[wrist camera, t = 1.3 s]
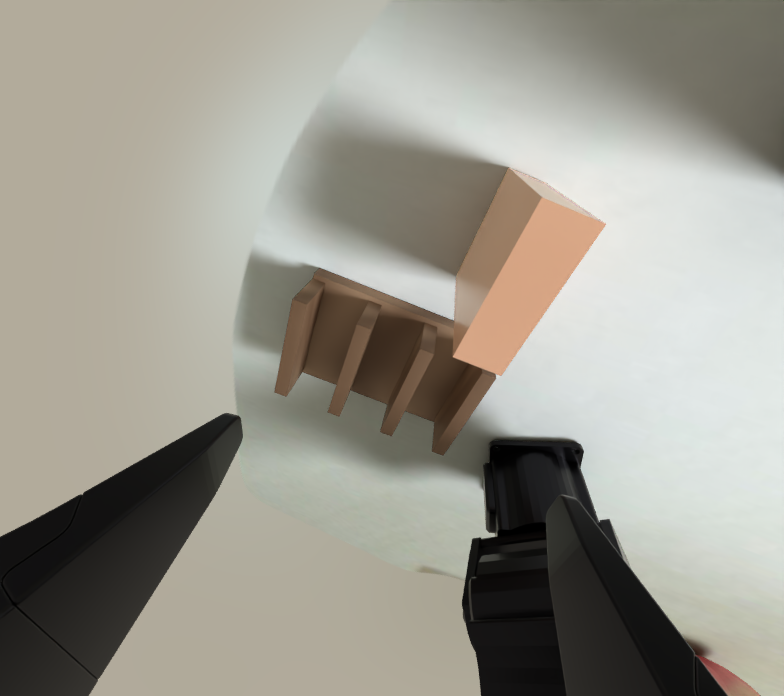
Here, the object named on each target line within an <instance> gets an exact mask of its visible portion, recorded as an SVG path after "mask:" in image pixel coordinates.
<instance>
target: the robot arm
mask: <svg viewBox="0 0 784 696" xmlns="http://www.w3.org/2000/svg"><path fill="white" fill-rule="evenodd" d="M242 438H243V432H242V424H241V418H240V417H239V416H238V415H233V414H229V413H225V414H222V415H220V416H218V417H217V418H215V419H213V420H211V421H210V422H208V423H206V424H204V425H202V426H201V427H199V428H197V429H195V430H194V431H192V432H190V433H188V434H187V435H185V436H183V437H182V438H180V439H178V440H176V441H174V442H172V443H171V444H169V445H167V446H165V447H164V448H162V449H160V450H158V451H156V452H155V453H153V454H151V455H149V456H148V457H146V458H144V459H142V460H140V461H139V462H137V463H135V464H133V465H131V466H130V467H128V468H126V469H124V470H123V471H121V472H119V473H117V474H115V475H114V476H112V477H110V478H108V479H107V480H105V481H103V482H101V483H100V484H98V485H96V486H94V487H92V488H91V489H89V490H87V491H85V492H84V493H83V495H78V496H76V497H75V498H73V499H71V500H69V501H67V502H66V503H64V504H62V505H60V506H58V507H57V508H55V509H53V510H51V511H49V512H47V513H46V514H44V515H42V516H40V517H39V518H36V519H34V520H33V521H31V522H29V523H27V524H25V525H23V526H21V527H19V528H17V529H15V530H13V531H11V532H9V533H7V534H5V535H3V536H1V537H0V696H89V694H90V693H91V691H92V690H93V688H94V686H95V685H96V683H97V681H98V679H99V678H100V676H101V675H102V673H103V672H104V670H105V668H106V667H107V665H108V664H109V662H110V660H111V659H112V657H113V656H114V654H115V653H116V651H117V649H118V648H119V646H120V645H121V643H122V642H123V640H124V639H125V637H126V635H127V634H128V632H129V630H130V629H131V627H132V626H133V624H134V622H135V621H136V620H137V618H138V616H139V615H140V613H141V612H142V610H143V608H144V607H145V605H146V604H147V602H148V600H149V599H150V597H151V596H152V594H153V593H154V591H155V589H156V588H157V586H158V585H159V583H160V582H161V580H162V578H163V577H164V575H165V573H166V572H167V570H168V569H169V567H170V565H171V564H172V563H173V561H174V559H175V558H176V556H177V555H178V553H179V551H180V550H181V548H182V547H183V545H184V543H185V542H186V540H187V539H188V537H189V535H190V534H191V533H192V531H193V529H194V528H195V526H196V525H197V523H198V521H199V520H200V518H201V517H202V515H203V513H204V512H205V510H206V509H207V507H208V506H209V504H210V502H211V501H212V499H213V498H214V496H215V494H216V492H217V491H218V488H219V487H220V485H221V483H222V481H223V479H224V477H225V475H226V473H227V471H228V469H229V467H230V464H231V462H232V460H233V458H234V457H235V454H236V452H237V450H238V448H239V446H240V444H241V442H242ZM496 447H497V448H496ZM583 453H584V450H583V448H582V446H581V444H579V443H561V442H527V441H492V442H491V443H490V445H489V463H485V464H484V465H483V487H484V504H485V520H486V530H487V531H488V532H489V533H495V537H491V538H483V539H481V538H473V539H472V544H471V550H470V554H469V561H468V567H467V573H466V580H465V586H464V593H463V599H462V607H463V619H464V621H465V623H466V627H467V631H468V635H469V638H470V641H471V644H472V646H473V648H474V650H475V652H476V657H477V662H478V669H479V678H480V688H481V696H728V695H727V693H726V692H725V691H724V690H723V688H722V687H721V686H720V684H719V683H718V682H717V681H716V679H715V678H714V677H713V675H712V674H711V673H710V672H709V670H708V669H707V668H706V666H705V665H704V664H703V662H702V661H701V660H700V658H699V657H697V656H695V652H694V651H693V649H692V648H691V647H690V646H689V644H688V643H687V642H686V640H685V639H684V638H683V636H682V635H681V634H680V632H679V631H678V630H677V629H676V627H675V626H674V625H673V623H672V622H671V621H670V619H669V618H668V617H667V615H666V614H665V613H664V612H663V610H662V609H661V608H660V606H659V605H658V604H657V602H656V601H655V600H654V599H653V597H652V596H651V595H650V593H649V592H648V591H647V589H646V588H645V587H644V585H643V584H642V583H641V582H640V580H639V579H638V578H637V576H636V575H635V574H634V572H633V571H632V570H631V567H630V565H629V562H628V560H627V557H626V555H625V553H624V551H623V549H622V546H621V544H620V542H619V540H618V537H617V535H616V533H615V531H614V528H613V526H612V524H611V522H610V519H606V520H600V522H599V521H598V518H597V515H596V512H595V509H594V506H593V503H592V500H591V498H590V495H589V492H588V489H587V486H586V483H585V480H584V477H583V474H582V472H581V469H580V467H581V462H582V458H583Z"/></svg>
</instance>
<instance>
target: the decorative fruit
mask: <svg viewBox="0 0 784 696" xmlns="http://www.w3.org/2000/svg"><path fill="white" fill-rule="evenodd" d="M695 656H697V657H699V658H700V660H701V661H702V662H703V664H704V665H705V666H706V668H707V669H708V670H709V672H710V673H711V674H712V675H713V677H714V678H715V679H716V681H717V682H718V683H719V684H720V686H721V687H722V688H723V690H724V691H725V692H726V693H727V695H728V696H760V695H759V694H758V693H757V692H756V691H755V690H754V689H753V688H752V687H751V686H749V685H748V684H747V683H746V682H744V681H743V680H742V679H740V678H739V677H737V676H736V675H735V674H733V673H732V672H730V671H729V670H727V669H725V668H724V667H722V666H720V665H718V664H716V663H714V662H712V661H710V660H708V659H706V658H704V657H701V656H699V655H696V654H695Z"/></svg>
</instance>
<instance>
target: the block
mask: <svg viewBox="0 0 784 696" xmlns="http://www.w3.org/2000/svg"><path fill="white" fill-rule="evenodd" d="M605 225H606V224H605V223H604V222H602V221H601V220H600V219H598V218H597V217H595V216H594V215H592V214H591V213H589V212H588V211H586V210H585V209H583V208H582V207H580V206H579V205H577V204H576V203H575V202H573V201H572V200H570V199H569V198H567V197H566V196H564V195H563V194H561V193H560V192H558V191H557V190H555V189H554V188H553V187H551V186H550V185H548V184H547V183H545V182H542V181H540V180H537V179H535V178H533V177H530V176H528V175H526V174H523V173H521V172H518V171H516V170H514V169H511V168H508V170H507V172H506V174H505V176H504V178H503V180H502V182H501V184H500V186H499V188H498V190H497V192H496V194H495V196H494V199H493V201H492V203H491V205H490V207H489V209H488V211H487V213H486V215H485V217H484V219H483V221H482V223H481V225H480V227H479V230H478V232H477V234H476V236H475V238H474V240H473V242H472V244H471V246H470V248H469V250H468V252H467V254H466V256H465V258H464V260H463V263H462V265H461V267H460V269H459V271H458V273H457V275H456V286H455V311H454V335H453V357H454V358H456V359H459V360H462V361H464V362H467V363H469V364H472V365H474V366H477V367H479V368H482V369H485V370H487V371H490V372H492V373H495V374H497V375H500V376H501V375H502V374H503V372H504V371H505V370H506V368H507V367H508V365H509V364H510V362H511V361H512V359H513V358H514V357H515V355H516V354H517V352H518V351H519V349H520V348H521V346H522V345H523V344H524V342H525V341H526V339H527V338H528V336H529V335H530V333H531V332H532V331H533V329H534V328H535V326H536V325H537V323H538V322H539V320H540V319H541V318H542V316H543V315H544V313H545V312H546V310H547V309H548V307H549V306H550V305H551V303H552V302H553V300H554V299H555V297H556V296H557V294H558V293H559V292H560V290H561V289H562V287H563V286H564V284H565V283H566V281H567V280H568V279H569V277H570V276H571V274H572V273H573V271H574V270H575V268H576V267H577V266H578V264H579V263H580V261H581V260H582V258H583V257H584V255H585V254H586V253H587V251H588V250H589V248H590V247H591V245H592V244H593V242H594V241H595V240H596V238H597V237H598V235H599V234H600V232H601V231H602V229H603V228H604V227H605Z"/></svg>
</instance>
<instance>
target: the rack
mask: <svg viewBox="0 0 784 696" xmlns="http://www.w3.org/2000/svg"><path fill="white" fill-rule="evenodd" d="M453 335H454V321H452V320H450V319H447V318H445V317H442V316H440V315H437V314H435V313H432V312H430V311H427V310H424V309H422V308H419V307H417V306H414V305H412V304H409V303H407V302H404V301H402V300H399V299H397V298H394V297H392V296H389V295H387V294H384V293H381V292H379V291H376V290H374V289H371V288H369V287H366V286H364V285H361V284H359V283H356V282H354V281H351V280H349V279H346V278H344V277H341V276H338V275H336V274H333V273H331V272H328V271H326V270H323V269H321V268H319V269H318V270H317V271H316V272H315V273H314V276H313V279H312V280H311V281H310V282H309V283H308V284H307V285H306V286H305V287H304V288H303V289H302V290H301V291H300V292H299V293H298V294H297V295H296V296H295V297H294V298H293V299H292V304H291V309H290V315H289V320H288V325H287V330H286V335H285V340H284V345H283V350H282V356H281V361H280V366H279V371H278V376H277V381H276V386H275V393H278V394H280V395H283V396H287V395H288V393H289V392H290V390H291V389H292V387H293V386H294V384H295V382H296V381H297V379H298V378H299V376H300V375H301V373H302V372H304V373H307V374H309V375H312V376H314V377H317V378H320V379H322V380H325V381H328V382H330V383H333V384H335V385H337V386H336V389H335V392H334V395H333V398H332V401H331V404H330V407H329V410H328V413H331V414H334V415H336V416H340V414H341V412H342V409H343V407H344V404H345V402H346V400H347V397H348V395H349V392H350V390H351V391H354V392H357V393H359V394H362V395H364V396H367V397H370V398H372V399H375V400H378V401H380V402H383V403H385V404H387V408H386V412H385V415H384V419H383V423H382V427H381V430H380V432H382V433H384V434H387V435H390V436H392V435H393V433H394V431H395V429H396V427H397V425H398V423H399V421H400V419H401V417H402V415H403V413H404V411H407V412H409V413H412V414H414V415H417V416H420V417H422V418H425V419H428V420H430V421H433V422H434V433H433V444H432V452H435V453H437V454H440V455H444V454H445V452H446V451H447V449H448V448H449V446H450V445H451V444H452V442H453V441H454V439H455V438H456V436H457V435H458V433H459V432H460V430H461V429H462V427H463V426H464V425H465V423H466V422H467V420H468V419H469V417H470V416H471V414H472V413H473V411H474V410H475V409H476V407H477V406H478V404H479V403H480V401H481V400H482V398H483V397H484V395H485V394H486V392H487V391H488V390H489V388H490V387H491V385H492V384H493V382H494V381H495V379H496V375H495V373H492V372H490V371H487V370H485V369H482V368H479V367H477V366H474V365H472V364H469V363H467V362H464V361H462V360H459V359H456V358H454V357H453Z"/></svg>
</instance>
